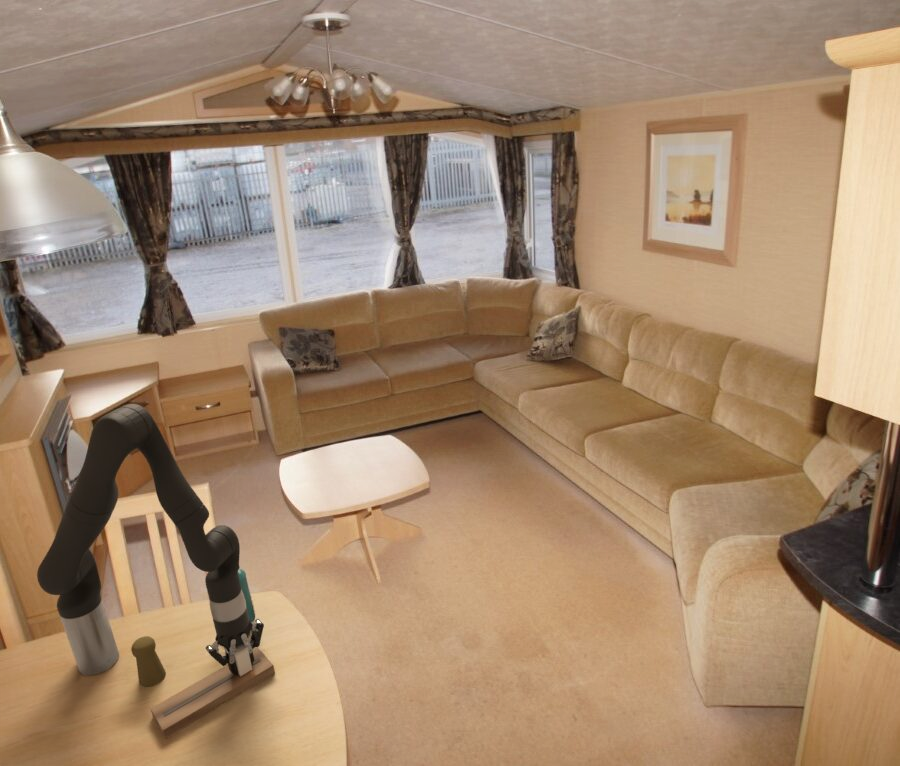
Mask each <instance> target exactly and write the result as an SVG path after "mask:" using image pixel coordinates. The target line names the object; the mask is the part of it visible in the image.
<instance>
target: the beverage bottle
mask: <svg viewBox="0 0 900 766" xmlns="http://www.w3.org/2000/svg"><path fill="white" fill-rule="evenodd" d="M238 576H239V580H240V585H241V589H242V592H243V594H244V597H245V600H246V606H247V611H248V616H249V620H250V622H255V620H256V616H257V615H256V610H255V606H254V601H253V598H252V595H251V590H250V588H249V582H248V578H247V573H246V571H245V570H244V569H242V568H241V567H240V566H239V568H238Z"/></svg>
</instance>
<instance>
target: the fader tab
mask: <svg viewBox="0 0 900 766" xmlns="http://www.w3.org/2000/svg"><path fill="white" fill-rule="evenodd" d="M234 656H235V661H236V665H237V669H238V674H239V675H240V676H242V675H244V674H245V673H247V672H249V671H251V670H252V665H251V661H250V656H249V652H248V647H245V646H244V644H243V645H240V646H238V647H237V648H235V654H234Z"/></svg>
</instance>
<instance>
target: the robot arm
mask: <svg viewBox="0 0 900 766" xmlns="http://www.w3.org/2000/svg"><path fill="white" fill-rule="evenodd" d="M137 449H138V451H139V452H140V453H141V454H142V456H144V458H145V460H146V462H147V463H148V465H149V468H150V471H151V474H152V477H153V478H152V480H153V483H154V488H155V491H156V492H155V493H156V496H157V499H158V502H159V504H160V507H161V508H162V509H163V511H164V512H165V514H166V515H167V516H168V518H169V519H170V520H171V521H172V523H173V524H174V525H175V527H176V528H177V530H178V531H179V534H180V538H181V540H182V543H183V544H184V547H185V550H186V553H187V556H188V558H189V559H190V561H191V563H192V564H193V565H194V566H195V568H197V569H199V570H200V571H202V572H205V573H207V574H206V576H205V577H204V578H205V580H204V581H205V587H206V590H207V596H208V599H209V600H208V601H209V609H210V612H211V617H212V621H213V625H214V626H213V627H214V629H215V633H216V636H215V641H214V642H213V643H212V644H211V645H210V644H208V645H206V646H205V650H206V652H207V653H208V654H209V655H210V656H211V657H212V658H213V659H214V660H215V661H216V662H218V663H219V664H220V665H221V666H222V667H225V666H226V665H228V667H229V670H230V671H231V672H232V674H235V675H236V674H238V669H237V665H236V661H235V656H234V654H235V648H237V647H238V646H240V645H243V644H244V646H245V647H248V652H249V656H250V661H251V665H253V662H254V655H253V650H255V649H256V648H259V646H260V644H261V641H262V636H263V631H264V627H265V626H264V625H265V624H264V623H263V622H262V621H261V620H260V619H259V618H255V620H254V622H250V620H249V616H248V611H247V606H246V600H245V597H244V594H243V592H242V589H241V585H240V580H239V576H238V568H239V567H240V552H241V551H240V549H241V548H240V541H239V537H238V535H237V533H236V531H234V530H233V529H232V528H231V527H229V526H227V525H224V524H223V525H222V524H221V525H217V526H214V527H213V528H212V529H210V530H209V531H208V532H207V533H206V532H205V528H204V527H205V524H206V522H207V521H208V519H209V517H210V511H209V510H208V508H207V507H206V505H205V503H203V501H202V500H201V498H200V497H199V496H198V494H197V493H196V491H195V490H194V489H193V487H192V486H191V485H190V484H189V482H188V481H187V479H186V477H185V476H184V474H183V473H182V471H181V469H180V467H179V465H178V464H177V461H176V459H175V458H174V455H173V453H172V451H171V449H170V448H169V446H168V443H167V442H166V440H165V438H164V436H163V433H162V432H161V430H160V428H159V426H158V425H157V422H156V421H155V419H154V417H153V415H152V414H151V413H150V412H149V410H148V409H146V408H145V407H143V406H141V405H139V404H137V403H128V404H127V403H126V404H124V405H122V406H120V407H118V408H116V409H114V410H112V411H110V412H108V413H107V414H105V415H103V416H101V417H100V418H99V419H98V420H97V421H96V422H95V424H94V425H93V428H92V431H91V434H90V437H89V442H88V446H87V450H86V454H85V458H84V460H83V461H84V462H83V464H82V467H81V469H80V472H79V474H78V475H77V476H78V477H77V479H76V482H75V485H74V486H73V489H72V491H71V493H70V495H69V497H68V501H67V503H66V506H65V509H64V512H63V514H62V516H61V519H60V522H59V525H58V528H57V530H56V533H55V536H54V539H53V541H52V543H51V545H50V547H49V549H48V551H47V552H46V554H45V556H44V557H43V559H42V561H41V563H40V564H39V566H38V569H37V573H36V578H37V583H38V584H39V587H40V588H41V589H42V590H43V592H45V593H47V594H48V595H52V596H58V598H57V601H56V609H57V612H58V614H59V617H60V618H59V619H60V620H61V623H62V626H63V628H64V631H65V634H66V637H67V640H68V643H69V646H70V648H71V651H72V655H73V657H74V660H75V663H76V666H77V668H78V669H77V670H78V671H79V673H80V674H81V675H83V676H95V675H98V674H99V675H100V674H101V673H104V672H106V671H108V670H109V669H111V668H112V667H113V666H114V665H115V664H116V663H117V661H119V658H120V653H119V650H118V649H119V648H118V645H117V642H116V639H115V636H114V633H113V630H112V626H111V624H110V620H109V618H108V615H107V611H106V607H105V605H104V602H103V599H102V595H101V590H102V582H101V578H100V574H99V569H98V565H97V562H96V559H95V557H94V555H93V553H92V551H91V549H90V548H91V546H93V544H94V542H95V541H96V540H97V539H98V538H99V535H100V534H101V533H102V532H103V530H104V529H105V527H106V525H107V524H108V523H109V521H110V519H111V517H112V514H113V512H114V511H115V508H116V506H117V503H118V500H119V487H118V484H117V480H116V477H117V474H118V472H119V470H120V468H121V466H122V464H123V462H124V461H125V459H126V458H127V457H128V456H129V455H130V454H131V453H132V452H135V451H136V450H137ZM239 569H240V568H239ZM250 634H251V635H250ZM249 636H250V639H249ZM219 647H223V649H224V651H225V652H224V655H222V654H221V653H220V652H219V651H220V649H219Z"/></svg>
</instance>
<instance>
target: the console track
mask: <svg viewBox="0 0 900 766" xmlns="http://www.w3.org/2000/svg"><path fill="white" fill-rule="evenodd" d="M253 655H254V662H253V665H252V670H251V671H249V672H247V673H245V674H244V675H242V676H240V675H239V674H236V675H235V674H232V672H231V671H230V670H229V667H228V664H226V665H225V666H222V667H221V668H219V669H218V670H216V671H214V672H212V673H210V674H209V675H207V676H205V677H204V678H201V679H200V680H198V681H196V682H194V683H193V684H191V685H189V686H187V687H186V688H184V689H182V690H180V691H178V692H177V693H175V694H173V695H172V696H170V697H168V698H166V699H165V700H163V701H161V702H160V703H157V704H156V705H154V706H152V707H150V712H151V715H152V718H153V719H154V721H155V723H156V725H157V726H158V728H159V730H160V731H161V733H162V735H163V737H164V738H165V740H166V739H167V738H169V737H171V736H173V735H175V734H176V733H178V732H180V731H182V730H183V729H185V728H186V727H188V726H190V725H191V724H193V723H195V722H196V721H198V720H199V719H201V718H203V717H204V716H206V715H208V714H210V713H211V712H213V711H215V710H216V709H218V708H220V707H222V706H224V705H225V704H226V703H228V702H230V701H231V700H233V699H234V698H236V697H239V696H240V695H241V694H244V693H245V692H247V691H248V690H250V689H251V688H253V687H255V686H257V685H259V684H260V683H261V682H263V681H264V680H266V679H268V678H270V677H272V675H273V676H274V675H275V674H276V672H275V666H274V663H272V662H271V660H269V659H268V657H267V656H266V655H265V654H264V652H262V650H261V649H260V648H259V647H255V648H254V649H253Z"/></svg>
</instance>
